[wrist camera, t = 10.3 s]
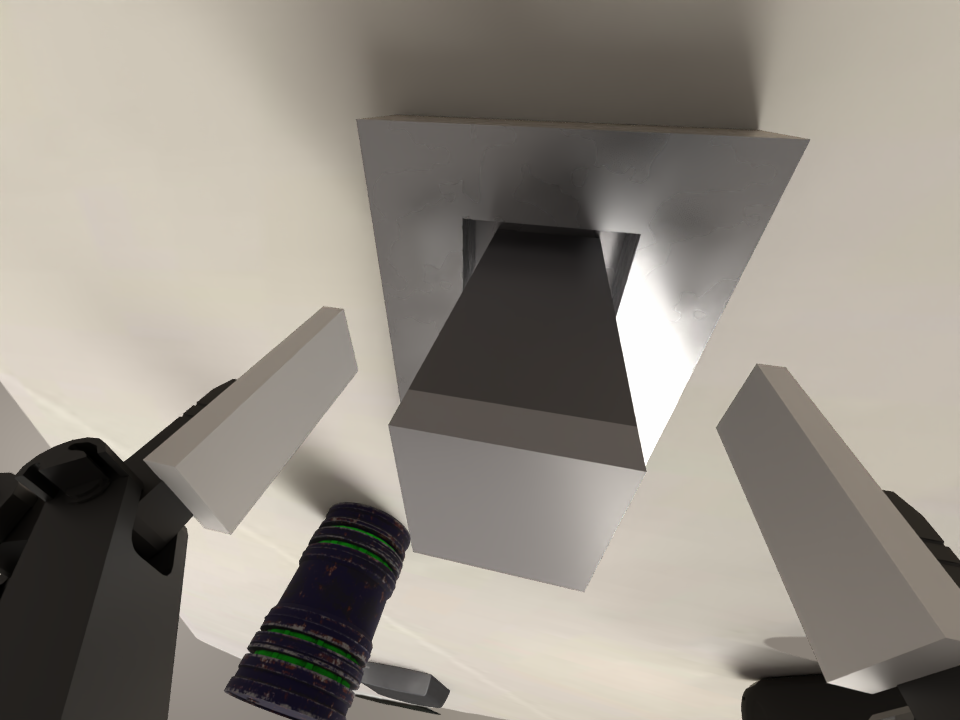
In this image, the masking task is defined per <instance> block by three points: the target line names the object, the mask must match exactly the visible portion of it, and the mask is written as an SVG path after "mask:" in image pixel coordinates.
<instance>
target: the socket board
mask: <svg viewBox="0 0 960 720" xmlns="http://www.w3.org/2000/svg"><path fill="white" fill-rule="evenodd" d="M356 120H357V126H358V133H359V139H360V146H361V152H362V158H363V165H364V171H365V178H366V184H367V190H368V197H369V203H370V210H371V216H372V223H373V229H374V235H375V242H376V248H377V255H378V261H379V267H380V274H381V280H382V287H383V293H384V300H385V306H386V312H387V319H388V325H389V332H390V338H391V344H392V351H393V357H394V364H395V370H396V377H397V383H398V389H399V396H400V402H401V401H402V400H403V398H404V396H405V394H406V392H407V391H408V389H409V387H410V385H411V383H412V382H413V380H414V378H415V376H416V374H417V373H418V371H419V369H420V367H421V365H422V364H423V362H424V360H425V358H426V356H427V355H428V353H429V351H430V349H431V347H432V346H433V344H434V342H435V340H436V338H437V337H438V335H439V333H440V331H441V329H442V328H443V326H444V324H445V322H446V320H447V319H448V317H449V315H450V313H451V311H452V310H453V308H454V306H455V304H456V302H457V301H458V299H459V297H460V295H461V294H462V292H463V290H464V288H465V286H466V285H467V283H468V281H469V279H470V277H471V276H472V274H473V272H474V270H475V268H476V267H477V265H478V263H479V261H480V259H481V258H482V256H483V254H484V252H485V250H486V249H487V247H488V245H489V243H490V241H491V240H492V238H493V236H494V234H495V232H496V231H497V229H500V230H511V231H522V232H533V233H545V234H556V235H567V236H578V237H590V238H600V240H601V245H602V250H603V255H604V260H605V265H606V271H607V276H608V281H609V286H610V291H611V296H612V301H613V306H614V311H615V316H616V321H617V326H618V331H619V336H620V341H621V346H622V351H623V356H624V361H625V366H626V371H627V376H628V381H629V386H630V391H631V396H632V401H633V406H634V411H635V416H636V421H637V426H638V431H639V436H640V441H641V446H642V451H643V456H644V461H645V465H646V463H647V461H648V459H649V457H650V455H651V453H652V451H653V449H654V447H655V445H656V443H657V441H658V439H659V437H660V435H661V433H662V431H663V429H664V428H665V426H666V424H667V422H668V420H669V418H670V416H671V414H672V412H673V410H674V408H675V406H676V404H677V402H678V400H679V398H680V396H681V394H682V392H683V390H684V388H685V386H686V384H687V382H688V380H689V378H690V376H691V374H692V372H693V370H694V368H695V366H696V364H697V362H698V360H699V358H700V356H701V354H702V352H703V350H704V348H705V347H706V345H707V343H708V341H709V339H710V337H711V335H712V333H713V331H714V329H715V327H716V325H717V323H718V321H719V319H720V317H721V315H722V313H723V311H724V309H725V307H726V305H727V303H728V301H729V299H730V297H731V295H732V293H733V291H734V289H735V287H736V285H737V283H738V281H739V279H740V277H741V275H742V273H743V271H744V269H745V267H746V266H747V264H748V262H749V260H750V258H751V256H752V254H753V252H754V250H755V248H756V246H757V244H758V242H759V240H760V238H761V236H762V234H763V232H764V230H765V228H766V226H767V224H768V222H769V220H770V218H771V216H772V214H773V212H774V210H775V208H776V206H777V204H778V202H779V200H780V198H781V196H782V194H783V192H784V190H785V188H786V186H787V185H788V183H789V181H790V179H791V177H792V175H793V173H794V171H795V169H796V167H797V165H798V163H799V161H800V159H801V157H802V155H803V153H804V151H805V149H806V147H807V145H808V143H809V141H810V139H805V138H800V137H794V136H789V135H783V134H778V133H773V132H767V131H762V130H747V129H723V128H700V127H676V126H652V125H628V124H605V123H581V122H557V121H534V120H510V119H486V118H462V117H439V116H415V115H389V116H380V117H371V118H362V119H356Z"/></svg>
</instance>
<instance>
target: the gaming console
mask: <svg viewBox="0 0 960 720" xmlns="http://www.w3.org/2000/svg"><path fill="white" fill-rule="evenodd" d="M905 706H908V705H907V703H906V701H905V699H904V698H903V696H902V694H901V692H900V690H899V688H898V687H894V688H891V689H887V690H884V691H881V692H878V693H874V694H870V693H866V692H862V691H858V690H854V689H850V688H846V687H842V686H838V685H834V684H830V683H827V682H826V680H825V677H824V675H823V674H822V675H807V676H793V677H779V678H767V679H761V680H759V681H757V682H755V683H753V684H752V685H751V686H750V687H749V688H747V689H746V690H745V691H744V693H743V696H742V703H741V712H742V720H869V719H870V717H871V716H872V715H874V714H878V713H882V712H886V711H889V710H893V709H897V708H901V707H905Z"/></svg>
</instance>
